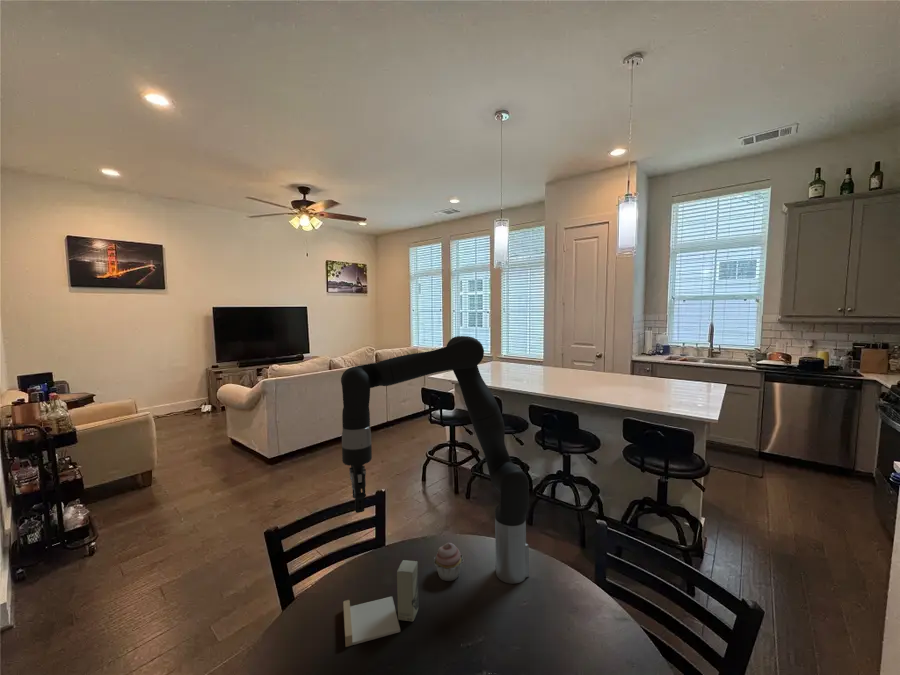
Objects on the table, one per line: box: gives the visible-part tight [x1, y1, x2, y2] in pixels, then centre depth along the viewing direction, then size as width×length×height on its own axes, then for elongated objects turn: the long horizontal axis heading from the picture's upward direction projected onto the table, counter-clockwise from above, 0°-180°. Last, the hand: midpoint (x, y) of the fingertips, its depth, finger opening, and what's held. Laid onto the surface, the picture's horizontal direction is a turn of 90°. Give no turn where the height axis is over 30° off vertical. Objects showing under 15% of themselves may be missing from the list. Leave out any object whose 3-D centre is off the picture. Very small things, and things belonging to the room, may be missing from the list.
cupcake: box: [433, 542, 465, 582], centre depth 112 cm, size 9×9×10 cm
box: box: [396, 559, 420, 622], centre depth 97 cm, size 5×4×13 cm
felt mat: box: [342, 595, 401, 648], centre depth 95 cm, size 13×12×2 cm
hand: (358, 504), depth 97 cm, fingers open, 8 cm apart
